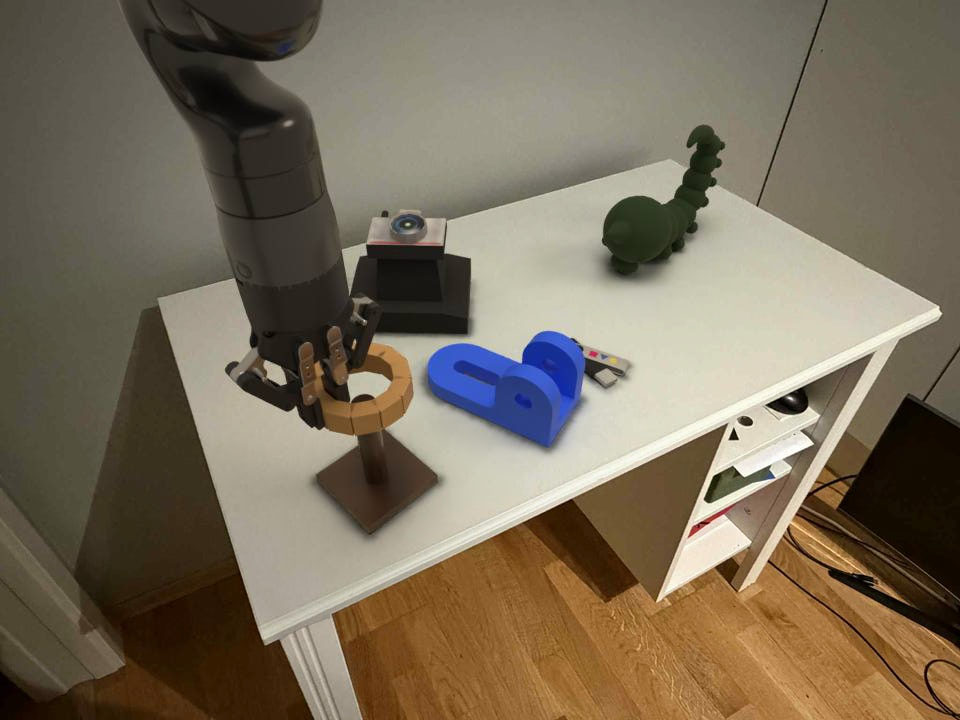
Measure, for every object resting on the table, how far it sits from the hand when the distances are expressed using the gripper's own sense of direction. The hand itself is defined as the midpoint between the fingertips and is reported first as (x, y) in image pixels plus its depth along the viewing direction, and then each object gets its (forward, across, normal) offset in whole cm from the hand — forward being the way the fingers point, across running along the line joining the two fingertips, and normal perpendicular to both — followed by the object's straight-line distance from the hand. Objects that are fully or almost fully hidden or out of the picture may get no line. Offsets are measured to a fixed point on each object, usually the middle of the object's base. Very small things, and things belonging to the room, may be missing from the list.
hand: (327, 416), depth 56 cm
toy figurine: (+14, -60, -4) cm, 61 cm away
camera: (+14, -27, -21) cm, 37 cm away
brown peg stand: (+13, -4, 0) cm, 14 cm away
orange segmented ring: (0, -4, 0) cm, 4 cm away
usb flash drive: (+14, -35, +5) cm, 38 cm away
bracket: (+14, -22, 0) cm, 26 cm away
